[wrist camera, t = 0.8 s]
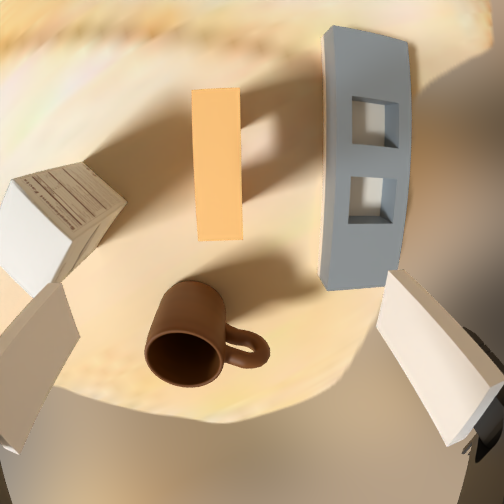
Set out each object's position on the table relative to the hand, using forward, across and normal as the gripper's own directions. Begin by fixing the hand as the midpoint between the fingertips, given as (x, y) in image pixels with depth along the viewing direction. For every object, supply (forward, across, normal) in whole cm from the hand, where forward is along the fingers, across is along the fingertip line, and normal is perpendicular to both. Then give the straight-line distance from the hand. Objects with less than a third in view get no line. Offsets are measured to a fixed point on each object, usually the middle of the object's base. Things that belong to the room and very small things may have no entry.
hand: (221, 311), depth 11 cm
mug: (+20, -2, -13) cm, 24 cm away
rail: (+20, +14, +4) cm, 25 cm away
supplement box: (+20, -15, 0) cm, 25 cm away
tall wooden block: (+20, 0, +4) cm, 20 cm away
